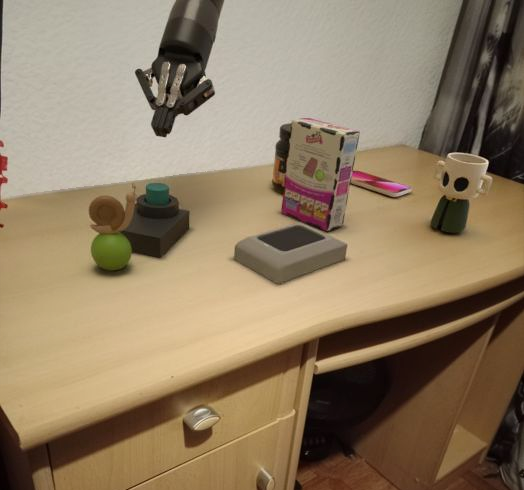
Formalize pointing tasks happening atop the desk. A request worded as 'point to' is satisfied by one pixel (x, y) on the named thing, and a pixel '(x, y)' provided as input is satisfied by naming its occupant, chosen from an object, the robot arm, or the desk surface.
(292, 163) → the candy bar box
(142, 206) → the black button base
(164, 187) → the push button
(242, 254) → the grey bevelled block
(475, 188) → the character mug
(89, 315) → the desk surface
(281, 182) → the supplement container
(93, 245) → the snail figurine
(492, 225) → the desk surface
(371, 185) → the smartphone
